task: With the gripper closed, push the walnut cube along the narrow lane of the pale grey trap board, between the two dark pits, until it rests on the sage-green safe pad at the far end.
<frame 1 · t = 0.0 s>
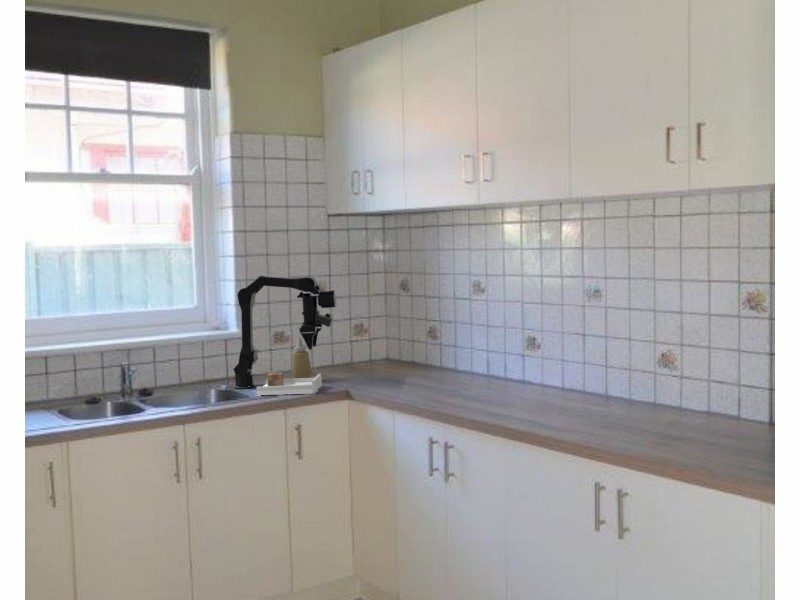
hand: (312, 347, 343), 15 cm above the countertop, fingers open, 9 cm apart
trap board: (290, 391, 332), on the countertop
squeeze bottle: (302, 382, 351), on the countertop
block: (275, 386, 332), point 2 cm above the countertop, touching trap board
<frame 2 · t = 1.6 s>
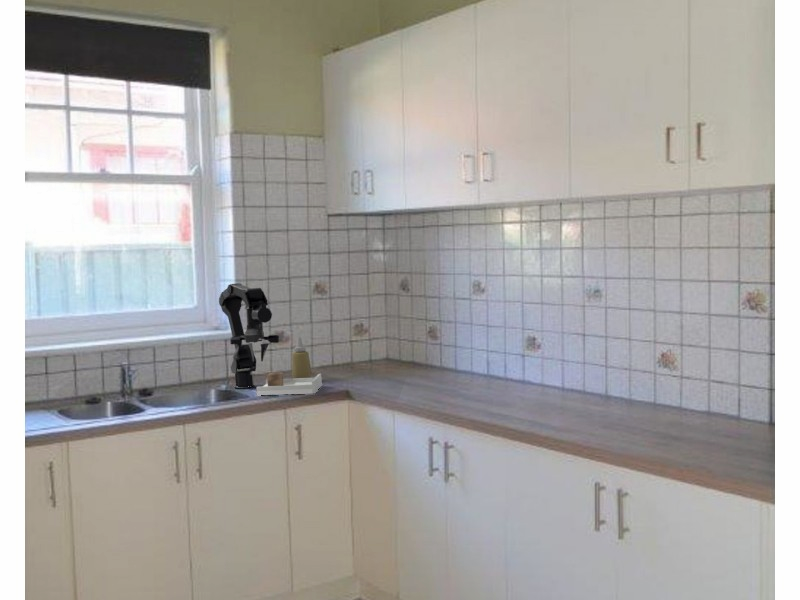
hand: (257, 361, 332), 12 cm above the countertop, fingers open, 3 cm apart
nothing on the countertop moved.
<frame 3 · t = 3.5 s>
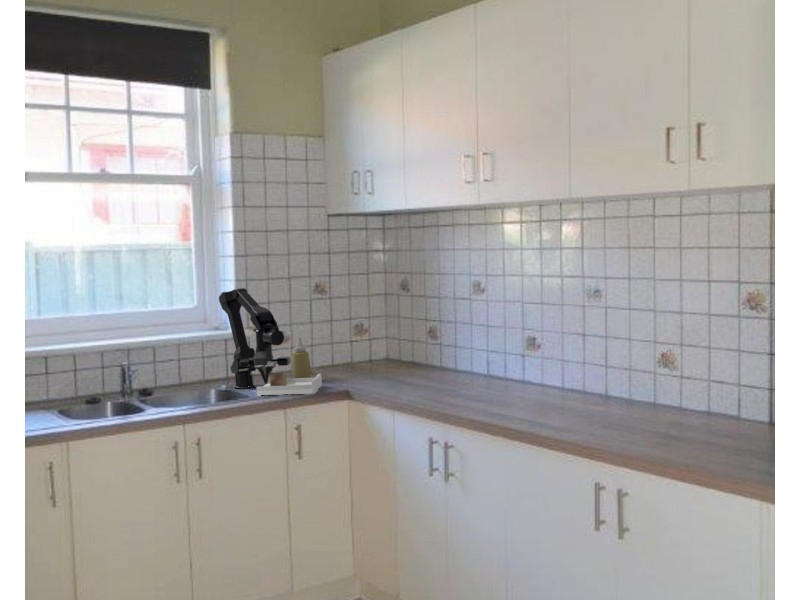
hand: (266, 384, 332), 3 cm above the countertop, fingers closed
block: (278, 386, 332), point 2 cm above the countertop, touching gripper
everything else where it was.
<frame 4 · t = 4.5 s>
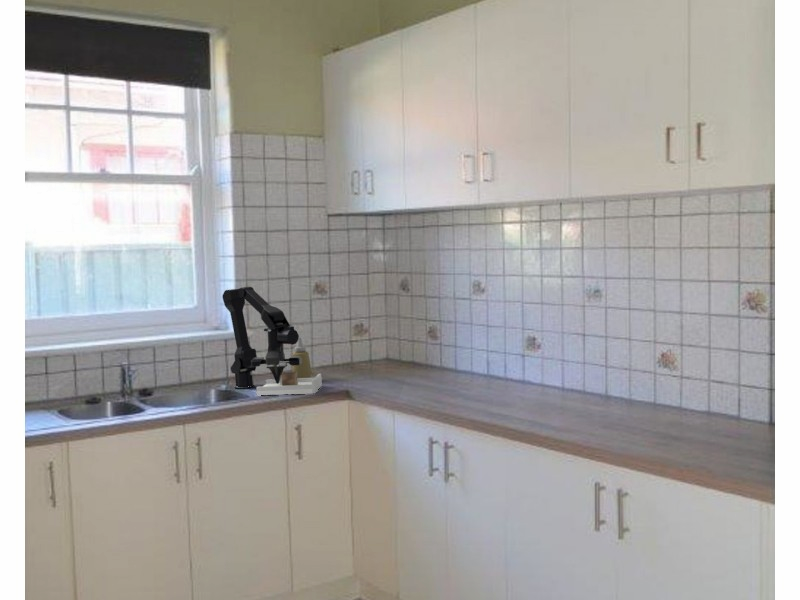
hand: (277, 383, 332), 3 cm above the countertop, fingers closed
block: (290, 386, 332), point 2 cm above the countertop, touching gripper, trap board
everything else where it was.
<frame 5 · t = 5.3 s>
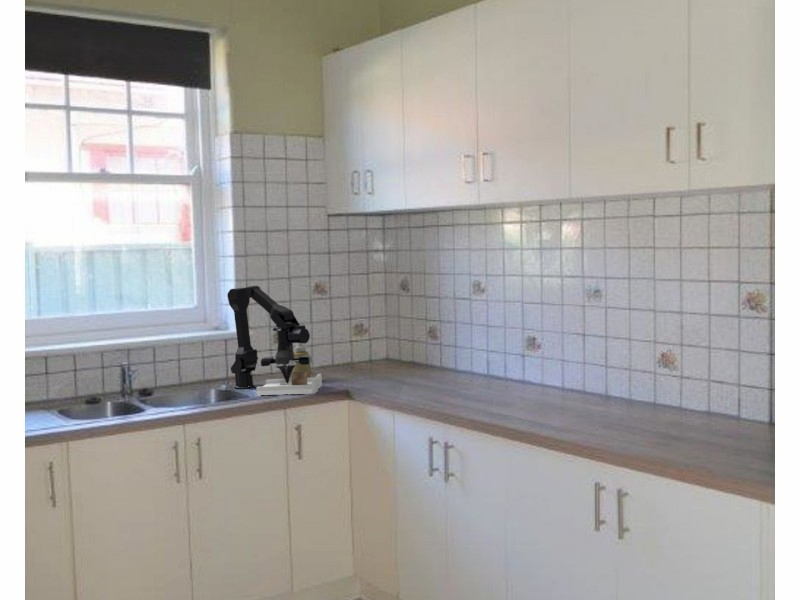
hand: (287, 383, 332), 3 cm above the countertop, fingers closed
block: (299, 385, 332), point 2 cm above the countertop, touching gripper
everything else where it was.
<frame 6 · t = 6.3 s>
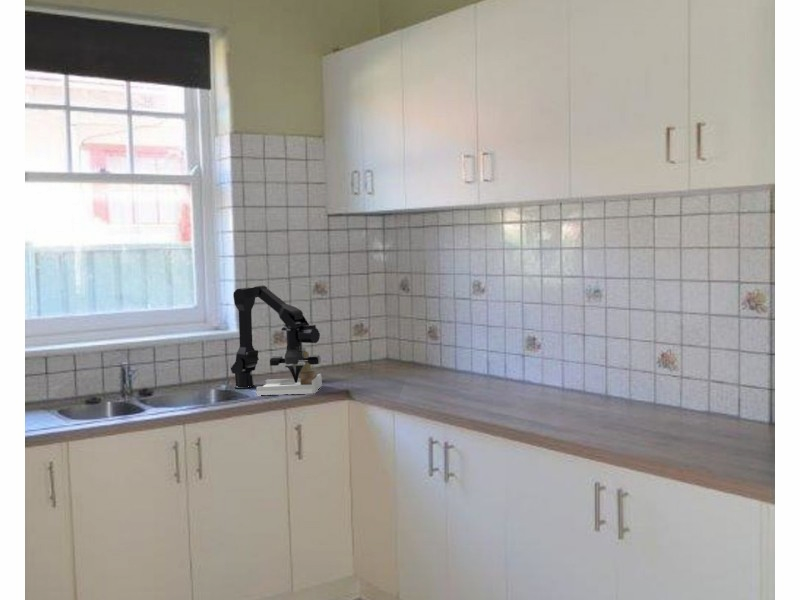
hand: (296, 382, 332), 3 cm above the countertop, fingers closed
block: (308, 385, 331), point 2 cm above the countertop, touching gripper, trap board
everything else where it was.
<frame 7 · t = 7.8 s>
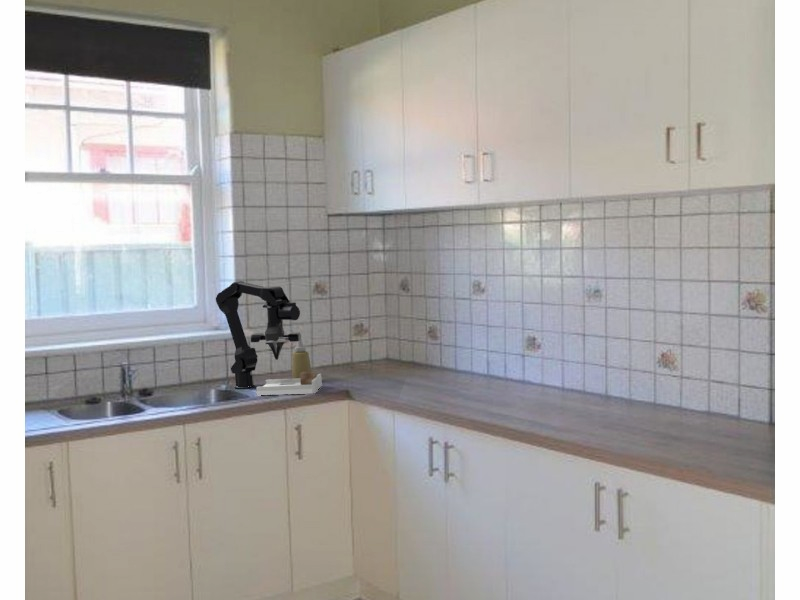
hand: (276, 359, 335), 12 cm above the countertop, fingers closed
block: (308, 385, 331), point 2 cm above the countertop, touching trap board
everything else where it was.
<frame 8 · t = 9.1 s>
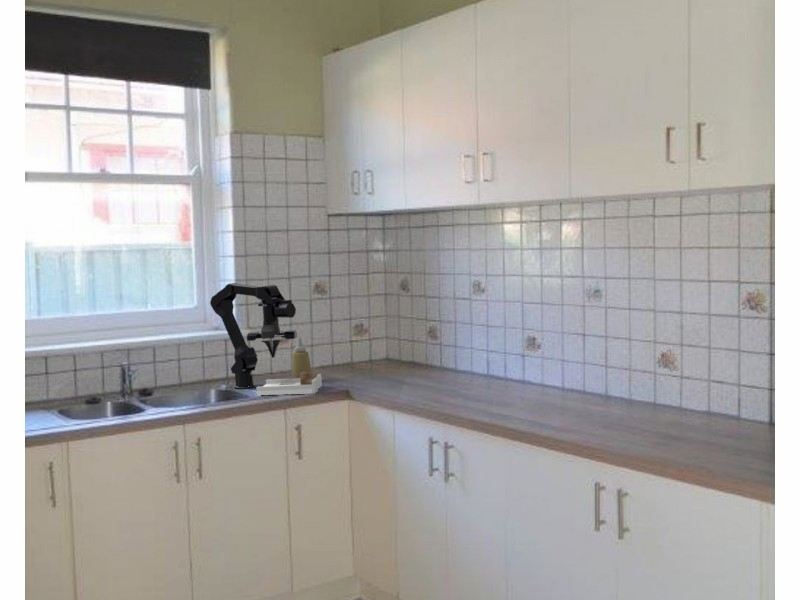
hand: (273, 357, 337), 13 cm above the countertop, fingers closed
nothing on the countertop moved.
at the end: block 0.2 cm from the target spot on the trap board, point 2.0 cm above the trap board's base; block tilted 0°; block moved 12.7 cm from its start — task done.
